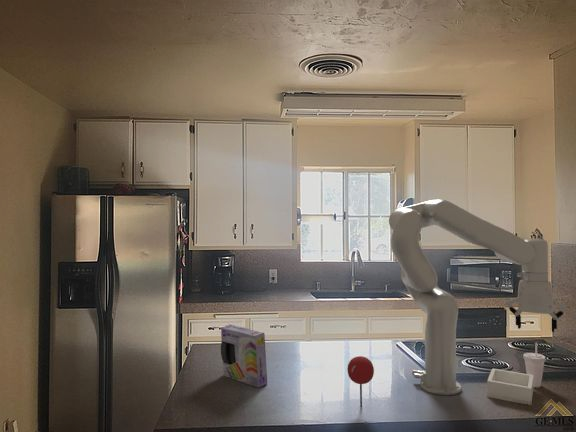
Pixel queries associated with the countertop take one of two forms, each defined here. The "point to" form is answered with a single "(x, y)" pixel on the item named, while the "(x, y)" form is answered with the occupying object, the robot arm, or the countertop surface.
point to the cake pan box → (244, 355)
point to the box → (510, 386)
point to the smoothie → (535, 366)
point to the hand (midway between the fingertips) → (535, 329)
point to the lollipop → (360, 372)
